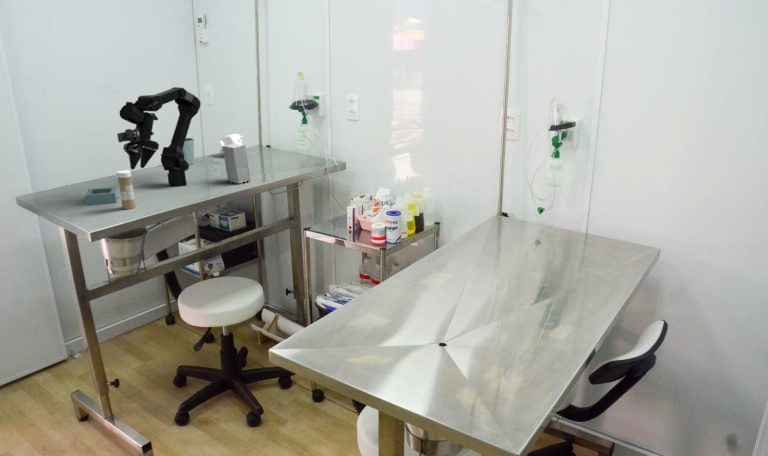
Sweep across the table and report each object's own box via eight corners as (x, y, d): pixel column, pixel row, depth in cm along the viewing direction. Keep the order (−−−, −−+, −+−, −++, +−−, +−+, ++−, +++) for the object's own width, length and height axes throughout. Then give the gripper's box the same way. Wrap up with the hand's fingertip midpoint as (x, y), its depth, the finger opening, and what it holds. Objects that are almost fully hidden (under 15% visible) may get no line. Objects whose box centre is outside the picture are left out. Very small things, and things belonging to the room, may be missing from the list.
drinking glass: (170, 165, 264) (166, 140, 260) (181, 161, 273) (178, 137, 269) (189, 166, 262) (186, 141, 258) (200, 162, 271) (197, 138, 267)
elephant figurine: (240, 161, 290) (231, 141, 291) (256, 147, 277) (247, 126, 278) (219, 165, 282) (210, 144, 282) (235, 151, 269) (226, 129, 269)
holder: (118, 195, 215) (117, 186, 214) (116, 202, 206) (114, 193, 205) (90, 197, 212) (88, 189, 210) (86, 204, 203) (84, 195, 201)
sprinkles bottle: (120, 207, 199) (114, 171, 195) (132, 205, 202) (126, 169, 198) (126, 210, 196) (120, 173, 192) (138, 207, 200) (132, 171, 195)
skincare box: (251, 181, 234) (248, 144, 229) (236, 185, 230) (233, 147, 224) (239, 178, 240) (236, 142, 235) (225, 181, 235) (221, 144, 230)
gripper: (112, 124, 209) (105, 165, 207) (131, 118, 196) (124, 161, 194) (142, 133, 217) (135, 171, 215) (162, 127, 204) (155, 169, 202)
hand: (137, 168), depth 206 cm, fingers open, 9 cm apart
